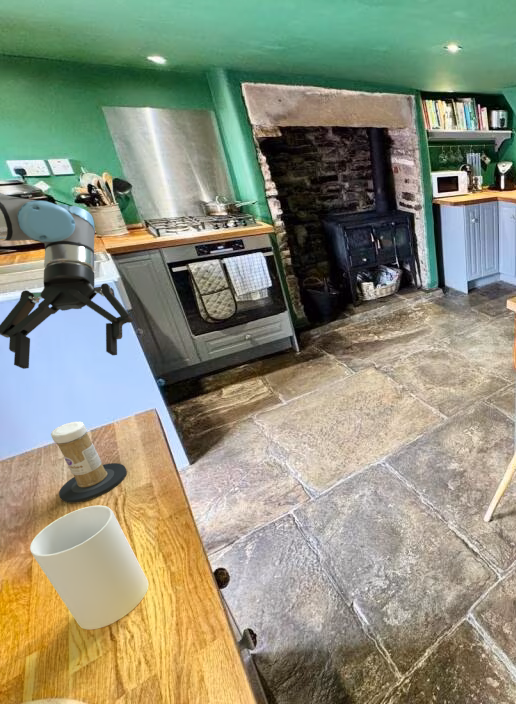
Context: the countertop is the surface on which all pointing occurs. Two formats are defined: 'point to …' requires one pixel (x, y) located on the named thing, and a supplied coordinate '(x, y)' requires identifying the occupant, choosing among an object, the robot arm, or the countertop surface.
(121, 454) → the countertop surface
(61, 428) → the sprinkles bottle
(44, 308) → the robot arm
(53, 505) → the countertop surface
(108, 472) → the mat
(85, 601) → the cup
